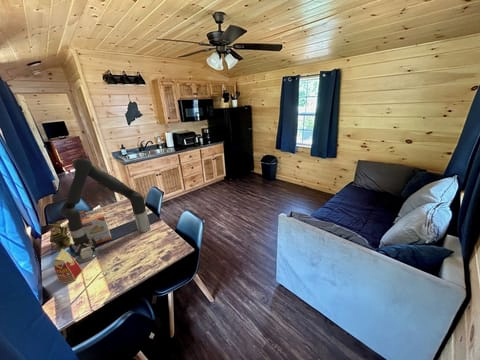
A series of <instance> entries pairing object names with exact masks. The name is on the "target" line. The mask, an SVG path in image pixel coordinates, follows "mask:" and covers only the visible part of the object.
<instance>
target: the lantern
mask: <svg viewBox="0 0 480 360" xmlns="http://www.w3.org/2000/svg"><path fill="white" fill-rule="evenodd" d="M79 213H80V218H81V223H82V220H83V219H87V218H91V216H87V214H86V212H85V211H84V210H81V211H79ZM82 226H83V225H82Z"/></svg>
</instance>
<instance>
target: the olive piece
mask: <svg viewBox="0 0 480 360" xmlns="http://www.w3.org/2000/svg"><path fill="white" fill-rule="evenodd" d="M47 225H49V226H54V229H52V231H51V233H50V236H49V237H50V238H49V242H50V243H53V244H55V245H56V248H55V250H56V251H61V249H63V250H64V249H66V248H69V245H70V244H71V236H69V235H68V226H61V222H60V221H56V223H55V224H54V223H52V224H50V223H48V224H47Z"/></svg>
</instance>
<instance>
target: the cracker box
mask: <svg viewBox="0 0 480 360" xmlns="http://www.w3.org/2000/svg"><path fill="white" fill-rule="evenodd" d="M82 225H83V228H84V229H85V232H86V234H87V237H88V239H91V238H92V237H94V238H95V241H96V243H97V244H96V245H99V244H101V243H104V242H106V241H110V240H112V234H111V232H110V229H109V225H108V222H107V219H106V216H105V214H104V213H102V214H98V215H95V216H90V218H87V219H83V220H82ZM89 242H91V241H89ZM91 243H92V244H93V242H91Z"/></svg>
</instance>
